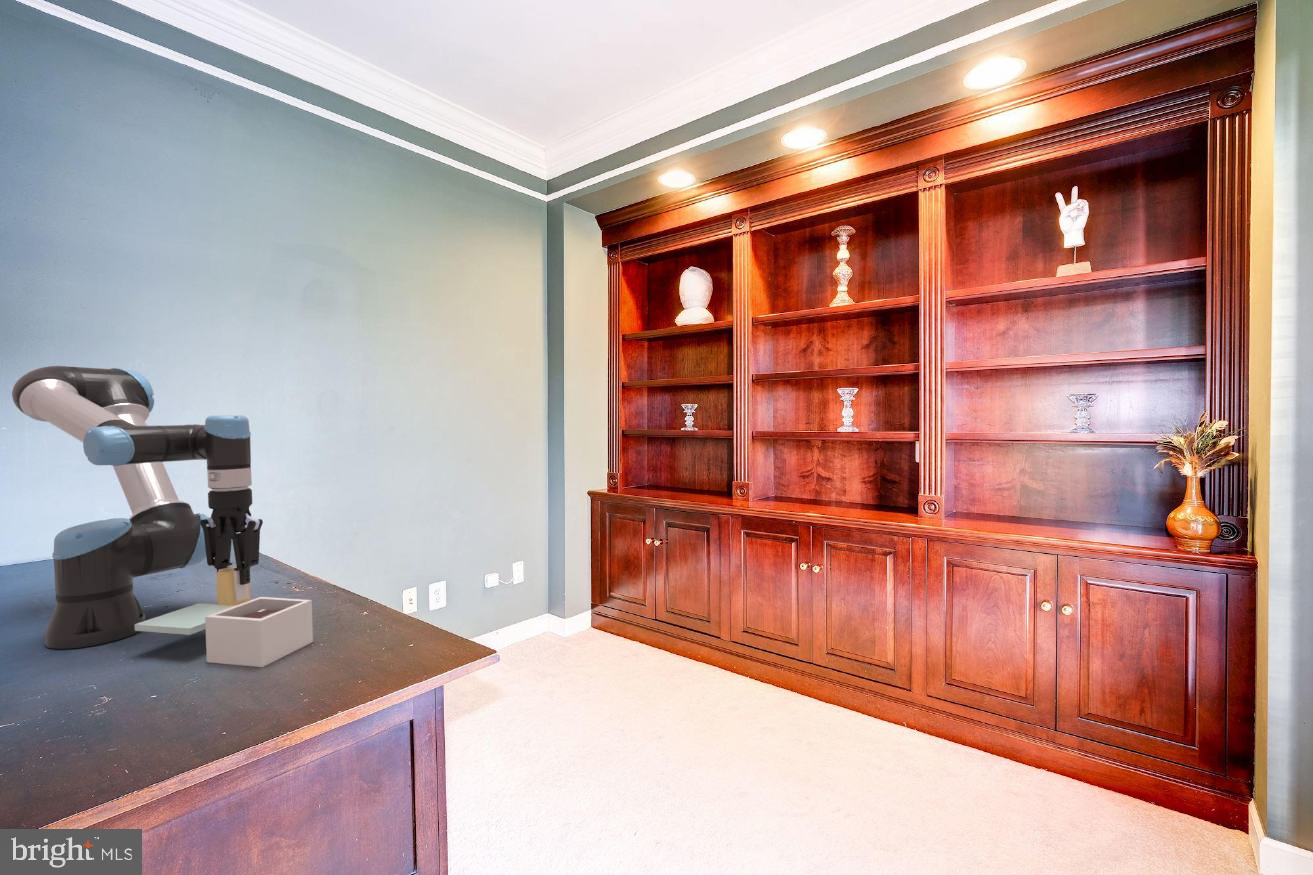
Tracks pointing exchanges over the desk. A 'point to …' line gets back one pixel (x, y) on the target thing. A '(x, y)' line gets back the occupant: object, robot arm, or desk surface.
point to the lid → (196, 610)
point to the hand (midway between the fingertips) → (234, 598)
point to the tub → (258, 632)
